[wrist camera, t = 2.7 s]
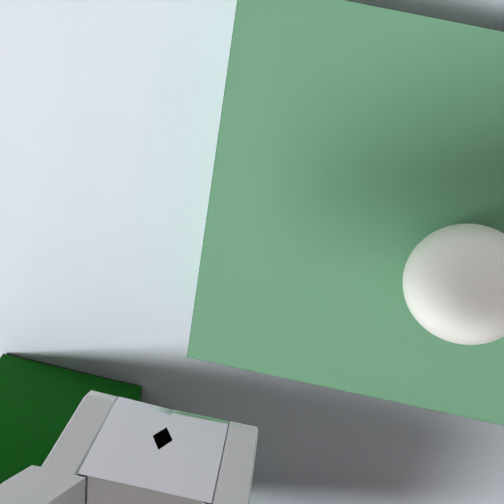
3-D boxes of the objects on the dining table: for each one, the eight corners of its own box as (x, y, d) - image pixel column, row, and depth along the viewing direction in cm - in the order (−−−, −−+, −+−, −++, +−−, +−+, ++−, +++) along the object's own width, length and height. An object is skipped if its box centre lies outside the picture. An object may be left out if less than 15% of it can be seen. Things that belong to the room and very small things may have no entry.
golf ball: (414, 194, 15) (441, 245, 12) (528, 218, 15) (585, 276, 12) (380, 289, 16) (396, 355, 13) (482, 310, 16) (521, 382, 13)
